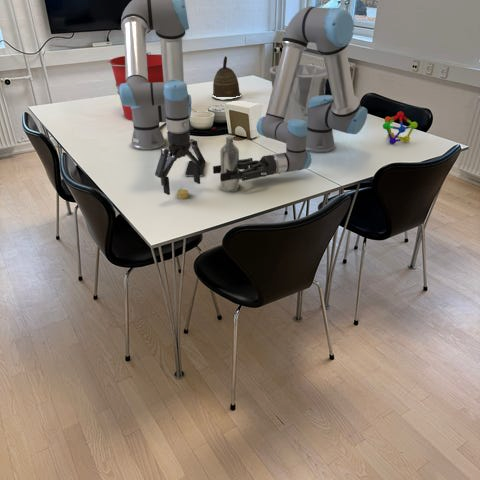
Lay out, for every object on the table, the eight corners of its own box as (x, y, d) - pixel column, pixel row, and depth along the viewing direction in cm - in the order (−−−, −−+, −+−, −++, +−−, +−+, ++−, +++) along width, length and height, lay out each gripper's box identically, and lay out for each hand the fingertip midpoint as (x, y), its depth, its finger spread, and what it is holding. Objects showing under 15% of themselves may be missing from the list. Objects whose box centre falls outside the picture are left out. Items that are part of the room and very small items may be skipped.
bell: (227, 105, 294) (202, 96, 282) (238, 66, 289) (213, 55, 277) (243, 108, 280) (217, 98, 268) (255, 66, 275) (229, 55, 263)
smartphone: (184, 174, 176) (189, 160, 189) (184, 176, 176) (189, 161, 189) (203, 175, 176) (206, 160, 188) (203, 176, 176) (206, 162, 189)
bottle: (242, 188, 167) (242, 137, 157) (229, 193, 163) (229, 141, 153) (230, 182, 172) (229, 133, 161) (217, 188, 168) (216, 137, 157)
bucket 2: (296, 138, 215) (301, 78, 201) (255, 124, 234) (256, 68, 219) (335, 125, 232) (342, 70, 217) (294, 113, 251) (297, 61, 236)
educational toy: (377, 146, 209) (379, 114, 202) (384, 138, 219) (386, 107, 211) (411, 149, 202) (415, 116, 195) (417, 141, 212) (420, 109, 204)
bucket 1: (123, 105, 263) (116, 51, 247) (182, 106, 262) (179, 52, 247) (107, 123, 234) (97, 63, 218) (173, 124, 233) (168, 64, 217)
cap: (180, 193, 163) (179, 188, 162) (189, 194, 162) (189, 190, 161) (176, 198, 160) (175, 193, 159) (186, 199, 159) (185, 194, 158)
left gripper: (153, 141, 139) (159, 202, 150) (213, 125, 153) (215, 181, 165) (140, 136, 143) (147, 194, 155) (200, 120, 158) (202, 175, 169)
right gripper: (284, 183, 164) (227, 193, 157) (261, 164, 180) (208, 173, 172) (285, 164, 160) (226, 174, 153) (262, 146, 176) (207, 154, 168)
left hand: (182, 188), depth 160 cm, fingers open, 13 cm apart
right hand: (217, 173), depth 162 cm, fingers closed on bottle, 7 cm apart
